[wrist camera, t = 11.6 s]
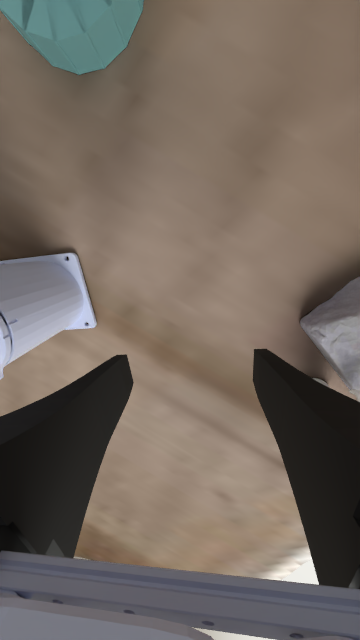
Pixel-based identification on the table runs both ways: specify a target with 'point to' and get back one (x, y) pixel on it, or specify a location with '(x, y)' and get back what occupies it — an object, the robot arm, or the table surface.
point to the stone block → (338, 332)
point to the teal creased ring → (75, 29)
